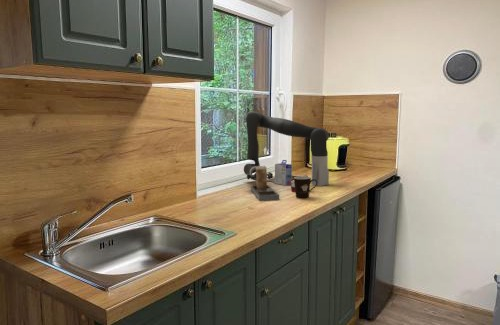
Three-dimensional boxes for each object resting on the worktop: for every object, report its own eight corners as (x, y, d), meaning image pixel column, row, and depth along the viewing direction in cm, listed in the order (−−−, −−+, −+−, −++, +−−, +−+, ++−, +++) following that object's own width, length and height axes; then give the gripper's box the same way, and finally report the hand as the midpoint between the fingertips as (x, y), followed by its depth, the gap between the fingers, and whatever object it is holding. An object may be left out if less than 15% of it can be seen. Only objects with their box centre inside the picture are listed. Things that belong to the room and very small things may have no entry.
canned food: (308, 200, 200) (309, 186, 195) (289, 198, 202) (290, 184, 197) (309, 187, 209) (311, 173, 204) (292, 185, 211) (292, 171, 205)
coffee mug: (292, 198, 185) (292, 179, 183) (294, 195, 193) (294, 176, 192) (316, 199, 182) (316, 179, 181) (317, 195, 190) (317, 176, 189)
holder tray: (268, 189, 209) (268, 185, 209) (279, 199, 183) (279, 194, 183) (251, 190, 207) (250, 186, 207) (259, 200, 182) (259, 195, 182)
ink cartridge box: (292, 184, 222) (292, 160, 220) (285, 185, 219) (285, 161, 217) (280, 182, 230) (280, 159, 228) (274, 183, 226) (274, 160, 225)
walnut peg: (265, 190, 206) (264, 165, 204) (266, 192, 201) (266, 166, 199) (256, 191, 205) (255, 166, 203) (257, 192, 200) (257, 167, 199)
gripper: (244, 167, 215) (248, 171, 199) (268, 166, 217) (274, 170, 201) (244, 180, 216) (249, 185, 200) (268, 179, 218) (274, 184, 202)
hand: (261, 177), depth 200 cm, fingers open, 8 cm apart
